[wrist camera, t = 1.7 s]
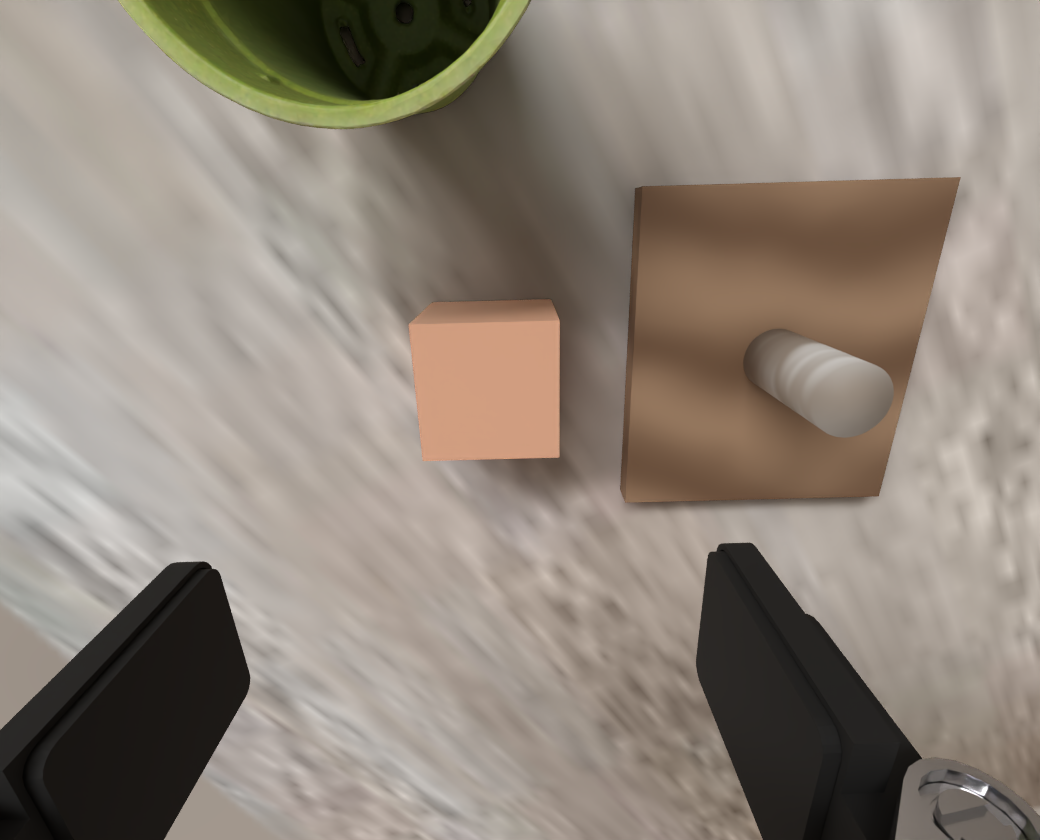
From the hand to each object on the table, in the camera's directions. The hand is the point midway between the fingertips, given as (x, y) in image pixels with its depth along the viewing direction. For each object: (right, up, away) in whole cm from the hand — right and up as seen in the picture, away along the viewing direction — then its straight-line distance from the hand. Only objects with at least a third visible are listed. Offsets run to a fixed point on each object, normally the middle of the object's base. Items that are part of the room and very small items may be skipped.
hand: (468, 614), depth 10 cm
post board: (+14, +7, +17) cm, 23 cm away
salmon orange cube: (0, +7, +17) cm, 19 cm away
